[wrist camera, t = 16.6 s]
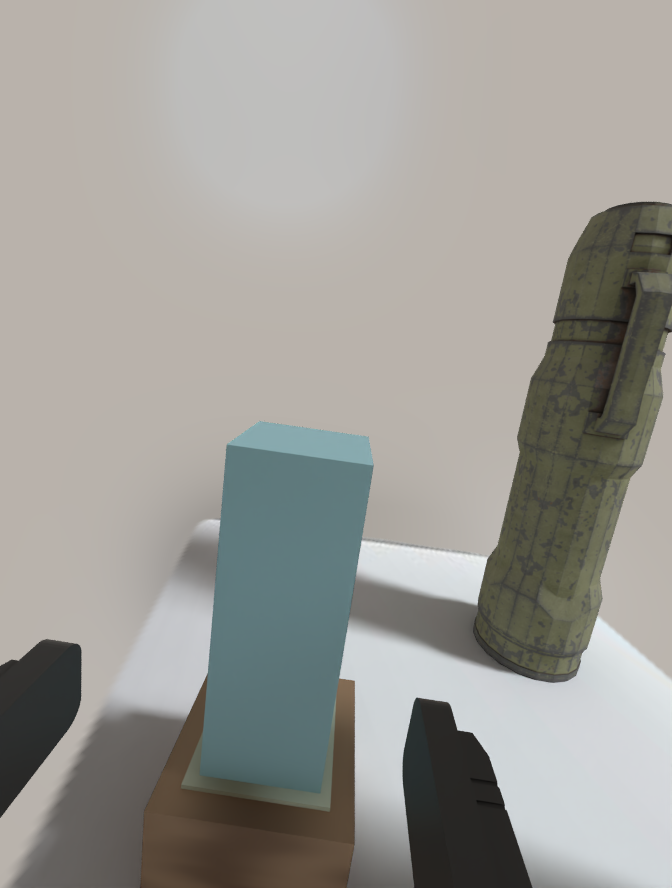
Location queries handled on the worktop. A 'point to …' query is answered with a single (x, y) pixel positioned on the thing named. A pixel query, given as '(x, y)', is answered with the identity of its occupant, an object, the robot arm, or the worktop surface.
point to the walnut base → (251, 818)
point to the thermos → (580, 443)
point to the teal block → (282, 601)
